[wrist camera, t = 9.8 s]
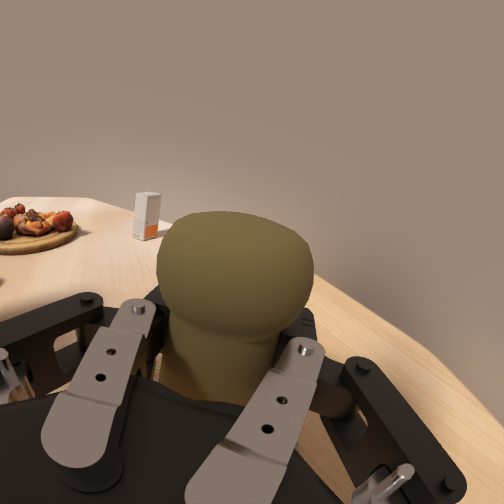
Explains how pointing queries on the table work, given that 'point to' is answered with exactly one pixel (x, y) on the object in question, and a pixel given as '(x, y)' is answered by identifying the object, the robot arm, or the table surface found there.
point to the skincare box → (146, 215)
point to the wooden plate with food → (33, 230)
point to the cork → (228, 301)
